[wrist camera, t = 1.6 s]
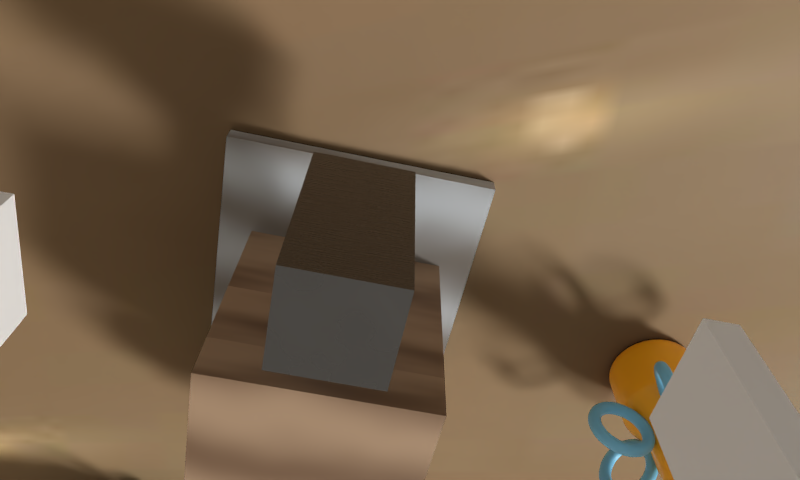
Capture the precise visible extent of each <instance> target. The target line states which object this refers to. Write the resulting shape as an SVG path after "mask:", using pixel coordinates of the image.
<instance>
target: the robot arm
mask: <svg viewBox="0 0 800 480" xmlns="http://www.w3.org/2000/svg"><path fill="white" fill-rule="evenodd" d="M26 315H27V308H26V299H25V289H24V280H23V271H22V262H21V252H20V243H19V234H18V224H17V215H16V206H15V196H14V194H12V193H6V192H1V191H0V347H1V345H2V344H3V343H4V342H5V341H6V339H7V338H8V337H9V336H10V334H11V333H12V332H13V331H14V330H15V328H16V327H17V326H18V325H19V323H20V322H21V321H22V320H23V319H24V317H25V316H26ZM649 419H650V421H651V424H652V426H653V429H654V431H655V434H656V436H657V439H658V441H659V444H660V446H661V449H662V451H663V454H664V456H665V459H666V461H667V464H668V466H669V469H670V471H671V474H672V476H673V479H674V480H800V415H799V413H798V412H797V410H796V409H795V407H794V406H793V404H792V403H791V401H790V400H789V398H788V397H787V395H786V394H785V392H784V391H783V389H782V388H781V386H780V385H779V383H778V382H777V380H776V379H775V377H774V376H773V374H772V373H771V371H770V370H769V368H768V367H767V365H766V363H765V362H764V360H763V359H762V357H761V356H760V354H759V353H758V351H757V350H756V348H755V347H754V345H753V344H752V342H751V341H750V339H749V338H748V336H747V335H746V333H745V332H744V330H743V329H742V327H741V326H740V325H738V324H732V323H727V322H721V321H716V320H710V319H705V318H703V319H702V321H701V323H700V325H699V327H698V329H697V330H696V332H695V334H694V336H693V338H692V340H691V341H690V343H689V345H688V347H687V349H686V351H685V353H684V354H683V356H682V358H681V360H680V362H679V364H678V365H677V367H676V369H675V371H674V373H673V375H672V376H671V378H670V380H669V382H668V384H667V386H666V388H665V389H664V391H663V393H662V395H661V397H660V399H659V400H658V402H657V404H656V406H655V408H654V410H653V412H652V413H651V415H650V417H649Z"/></svg>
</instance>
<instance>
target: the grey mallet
mask: <svg viewBox="0 0 800 480" xmlns="http://www.w3.org/2000/svg"><path fill="white" fill-rule="evenodd" d="M415 184H416V172H413V171H408V170H403V169H398V168H393V167H388V166H383V165H378V164H373V163H368V162H363V161H358V160H353V159H348V158H343V157H338V156H333V155H328V154H323V153H318V152H313V155H312V158H311V161H310V164H309V167H308V170H307V173H306V176H305V179H304V182H303V185H302V188H301V191H300V194H299V197H298V200H297V203H296V206H295V209H294V212H293V215H292V218H291V221H290V224H289V227H288V230H287V233H286V236H285V239H284V242H283V245H282V248H281V251H280V254H279V257H278V260H277V263H276V267H275V275H274V282H273V289H272V297H271V304H270V312H269V319H268V326H267V334H266V341H265V349H264V356H263V363H262V370H264V371H269V372H275V373H281V374H287V375H293V376H299V377H304V378H310V379H316V380H322V381H328V382H334V383H340V384H345V385H351V386H357V387H363V388H369V389H375V390H380V391H386V392H388V388H389V384H390V380H391V377H392V373H393V369H394V365H395V362H396V358H397V354H398V351H399V347H400V343H401V339H402V336H403V332H404V328H405V324H406V321H407V317H408V313H409V310H410V306H411V302H412V298H413V295H414V291H415Z"/></svg>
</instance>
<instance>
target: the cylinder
mask: <svg viewBox="0 0 800 480" xmlns="http://www.w3.org/2000/svg"><path fill="white" fill-rule="evenodd" d="M685 351H686V349H685V348H684V347H683V346H681V345H679V344H677V343H676V342H672V341H669V340H662V339H656V340H647V341H642V342H640V343H636V344H634V345H632V346H630V347H628V348H627V349H626V350H624V351H623V352H621V353H620V354H619V356H617V357H616V359H615V361H614V362H613V363H612V366H611V369H610V374H609V381H610V385H611V388H612V391H613V394H614V397H615V399H616V402H617V403H615V402H602V403H598V404H596V405H595V406H593V407H592V409H591V410H590V412H589V415H588V422H589V426H590V429H591V431H592V432H593V434H594V435H595V437H596V438H597V439H598V440H599V441H600V442H601V443H602V444H603V445H605V446H606V447H607V448H609V449H610V450H609V451H608V452H607V453H606V455H605V456H604V458H603V460H602V462H601V465H600V470H599V479H600V480H612V479H611V471H612V468H613V465H614V463H615V462H616V461H617V459H618V458H619V457H620V456H622V455H624V456H628V457H641V456H644V457H645V460H646V468H645V471H644V474H643V476H642V477H641V478H640V480H656V477H657V474H658V473H659V475H660V478H661V480H674V479H673V476H672V474H671V471H670V469H669V466H668V464H667V461H666V459H665V456H664V454H663V451H662V449H661V446H660V444H659V441H658V439H657V436H656V434H655V431H654V429H653V426H652V424H651V421H650V419H649V417H650V415H651V413H652V412H653V410H654V408H655V406H656V404H657V402H658V400H659V399H660V397H661V395H662V393H663V391H664V389H665V388H666V386H667V384H668V382H669V380H670V378H671V376H672V375H673V373H674V371H675V369H676V367H677V365H678V364H679V362H680V360H681V358H682V356H683V354H684V353H685ZM605 414H614V415H618V416H621V417H622V419H623V422H624V424H625V426H626V428H627V429H628V430H629V432H630V433H631V434H632V435H634V436H635V437H636V438H638V439H639V440H638V439H628V440H624V441H621V440H619V439H617V438H615V437H614V436H612V435H611V434H610V433H609V432H608V431H607V430H606V429H605V428H604V426H603V425H602V423H601V417H602V416H603V415H605Z"/></svg>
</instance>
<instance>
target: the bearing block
mask: <svg viewBox="0 0 800 480" xmlns="http://www.w3.org/2000/svg"><path fill="white" fill-rule="evenodd" d="M313 152H318V153H323V154H328V155H333V156H338V157H343V158H348V159H353V160H358V161H363V162H368V163H373V164H378V165H383V166H388V167H393V168H398V169H403V170H408V171H413V172H416V184H415V291H414V295H413V298H412V302H411V306H410V310H409V313H408V317H407V321H406V324H405V328H404V332H403V336H402V339H401V343H400V347H399V351H398V354H397V358H396V362H395V365H394V369H393V373H392V377H391V380H390V384H389V388H388V392H386V391H380V390H375V389H369V388H363V387H357V386H351V385H345V384H340V383H334V382H328V381H322V380H316V379H310V378H304V377H299V376H293V375H287V374H281V373H275V372H269V371H264V370H262V363H263V356H264V349H265V341H266V334H267V326H268V319H269V312H270V304H271V297H272V289H273V282H274V275H275V267H276V263H277V260H278V257H279V254H280V251H281V248H282V245H283V242H284V239H285V236H286V233H287V230H288V227H289V224H290V221H291V218H292V215H293V212H294V209H295V206H296V203H297V200H298V197H299V194H300V191H301V188H302V185H303V182H304V179H305V176H306V173H307V170H308V167H309V164H310V161H311V158H312V155H313ZM494 192H495V186H494V182H489V181H484V180H479V179H474V178H469V177H464V176H459V175H454V174H449V173H444V172H439V171H434V170H429V169H424V168H419V167H414V166H409V165H404V164H399V163H394V162H389V161H384V160H379V159H374V158H369V157H364V156H359V155H354V154H349V153H344V152H339V151H334V150H329V149H324V148H319V147H314V146H310V145H305V144H300V143H295V142H290V141H285V140H280V139H275V138H270V137H265V136H260V135H255V134H250V133H245V132H240V131H235V130H230V132H229V133H228V135H227V137H226V150H225V162H224V175H223V187H222V200H221V212H220V225H219V237H218V249H217V262H216V274H215V287H214V299H213V312H212V324H211V327H210V330H209V332H208V334H207V337H206V339H205V341H204V344H203V346H202V348H201V351H200V353H199V356H198V358H197V360H196V363H195V365H194V367H193V370H192V372H191V382H190V398H189V413H188V429H187V445H186V461H185V476H184V480H425V478H426V475H427V472H428V469H429V466H430V463H431V460H432V457H433V454H434V451H435V448H436V445H437V443H438V440H439V437H440V434H441V431H442V428H443V425H444V422H445V419H446V398H445V377H444V357H443V355H444V351H445V348H446V345H447V342H448V339H449V336H450V332H451V329H452V326H453V323H454V320H455V316H456V313H457V310H458V307H459V304H460V301H461V297H462V294H463V291H464V288H465V285H466V282H467V278H468V275H469V272H470V269H471V266H472V262H473V259H474V256H475V253H476V250H477V247H478V243H479V240H480V237H481V234H482V231H483V227H484V224H485V221H486V218H487V215H488V212H489V208H490V205H491V202H492V199H493V196H494Z"/></svg>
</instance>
